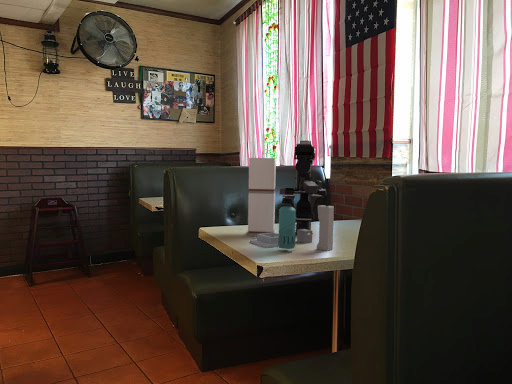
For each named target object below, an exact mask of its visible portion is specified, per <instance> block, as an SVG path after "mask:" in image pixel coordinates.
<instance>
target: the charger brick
mask: <svg viewBox="0 0 512 384" xmlns="http://www.w3.org/2000/svg"><path fill="white" fill-rule="evenodd" d="M312 233H313V230H312V229H311V230H307V229H299V230H297V234H296V242H297V243H298V242H299V243H301V244H302V243H303V244H310V243H313V234H312Z"/></svg>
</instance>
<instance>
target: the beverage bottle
mask: <svg viewBox="0 0 512 384" xmlns="http://www.w3.org/2000/svg"><path fill="white" fill-rule="evenodd" d="M281 204H282V205H283V204H285V205H286V206H281V207H280V208H279V209H278V214H279V215H278V232H277V233H278V234H279V240H278V248H279V249H284V250H292V249H294V248H295V246H296V234H295V233H296V224H297V221H295V220H296V219H297V218H296V216H295V214H296V210H295V208H296V207H289V205H288V204H293V198H285V197H282V198H281Z"/></svg>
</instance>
